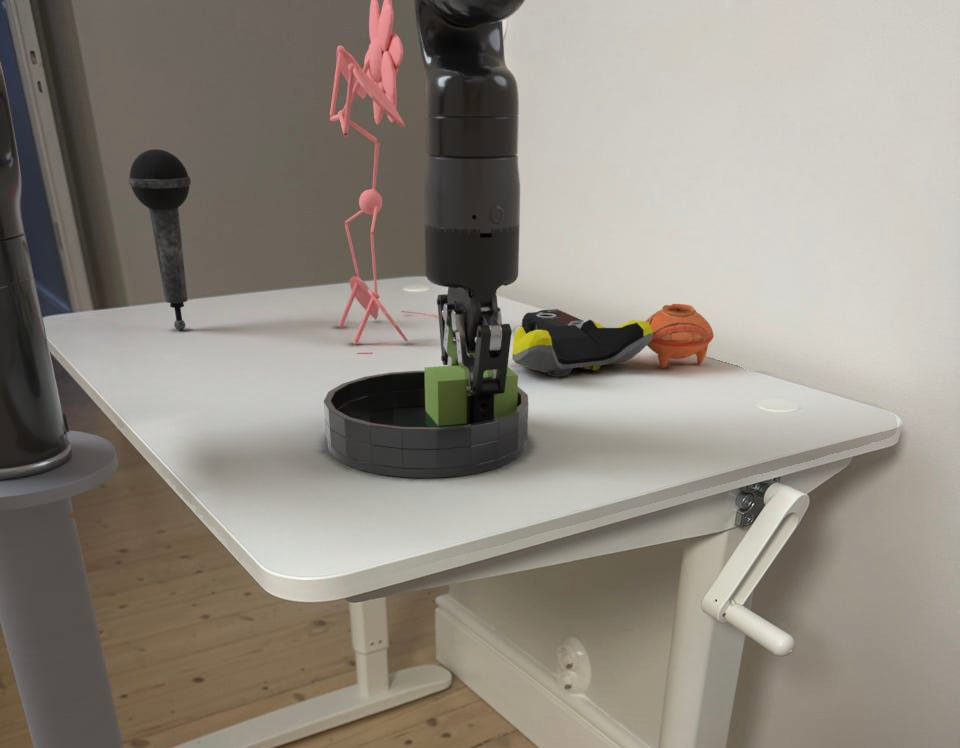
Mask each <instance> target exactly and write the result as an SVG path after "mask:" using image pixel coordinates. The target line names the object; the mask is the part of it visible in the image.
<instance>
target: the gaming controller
mask: <svg viewBox="0 0 960 748" xmlns="http://www.w3.org/2000/svg"><path fill="white" fill-rule="evenodd" d="M583 321H584V322H582V326H581V328H578V327H577V326H576V325H569V326H558V327H548V328H540V329H539V330H534V331H529V329H528V328H525V327H522V325H520V326H517V327H516V329H515V332H514V335H513V340H512V361H513V362H514V363H516V364H518V365H519V366H521V367H525V368H528V369H530V370H533V371H538V372H542V373H547V375H548V376H552V377H566V376H569V375H570V374H571V372H572V371H573V369H576V368H581V369H583V370H591V371H599V369H600V368H601V366H610V365H611V366H612V365H617V364H621V363H624V362H628V361H630V360H631V359H633V358H634V357H636V356H637V355H638V354H640V353H641V352H642V351H643V350H644V349H645V348H646V347H648V346H647V345H648V344H649V343H650V342H651V341H652V340H653V335H652V329H651V326H650V324H649V322H645V321H646V320H637V319H636V320H635V319H634V320H633V319H632V320H630V321H628V322H625V323H623V324H621V325H619V326H617V327H604V326H602V325H601V324H600V322H596V321H595V320H592V319H587V320H583Z"/></svg>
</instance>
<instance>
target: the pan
mask: <svg viewBox="0 0 960 748" xmlns="http://www.w3.org/2000/svg"><path fill="white" fill-rule="evenodd" d="M323 411H324V412H323V413H324V427H325V428H324V429H325V438H326V439H327V448H328V451H329V453H330V454H331V456H332V457H333V458H335V459H336V460H337V461H339V462H340V463H343V464H344V465H346V466H349V467H351V468H354V469H357V470H360V471H363V472H368V473H371V474H376V475H382V476H389V477H397V478H411V479H436V478H437V479H439V478H440V479H441V478H451V477H454V478H455V477H460V476H468V475H469V476H470V475H474V474H480V473H484V472H489V471H492V470H494V469H498V468H501V467H503V466H507V465H509V464H511V463H512V462H514V461H515V460H517V459H518V458H520V457H521V456H522V455H523V453H524V452H526V451H525V450H526V448H527V441H528V430H529V429H528V427H529V426H528V424H529V395H528V393H526V392H525V391H524V390H522V388H521V387H519V386H518V395H517V408H516V409H515V410H514V411H513V412H511V413H509V414H506V415H504V416H501V417H499V418H496V419H494V420H489V421H484V422H479V423H474V424H469V425H460V426H448V427H428V426H427V425H426V411H425V370H409V371H408V370H406V371H393V372H386V373H377V374H373V375H366V376H363V377H359V378H356V379H352V380H349V381H346V382H343V383H341V384H339V385H338V386H336V387H334V388H332V389H331V390H329V391H328V392H327V394H326V395H325V398H324V399H323Z"/></svg>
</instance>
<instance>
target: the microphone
mask: <svg viewBox="0 0 960 748" xmlns="http://www.w3.org/2000/svg"><path fill="white" fill-rule="evenodd" d="M191 181H192V180H191V177H190V176H189V173H188V171H187V168H186V167H185V165H184V164H183V162H182V161H181V160H180V159H179V158H178V157H176V155H175V154H172V153H171V152H169V151H167V150H163V149H157V148H156V149H155V148H154V149H149V150H145V151H143V152H141V153H140V154H139V155H137V157H136V158H135V159H134V161H133V163H132V164H131V166H130V170H129V177H128V184H129V186H130V187H131V190H132V192H133V194H134V196H135V197H136V199H137V200H138V201H139V202H140V203H141V204H142V205H143V206H145V207H146V208H148V210H149V216H150V223H151V228H152V233H153V239H154V243H155V249H156V256H157V261H158V267H159V273H160V278H161V284H162V289H163V295H164V301H165V302H166V303H167V304H169V307H170V308H172V309H173V308H174V314H175V320H174V323H173V325H174V328H175V329H176V330H178V331H183V330H184V329H185V328H186V322H185V321H184V320H183V315H182V308H183V307H185V303H186V302H188V292H187V291H188V290H187V282H186V273H185V272H186V271H185V262H184V251H183V243H182V233H181V231H182V230H181V223H180V213H179V208H180V207H181V206H182V205H183V204H184V202H186V199H187V197H188V195H189V192H190V186H191V183H192V182H191Z"/></svg>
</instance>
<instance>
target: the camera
mask: <svg viewBox="0 0 960 748" xmlns="http://www.w3.org/2000/svg"><path fill="white" fill-rule="evenodd" d="M584 321H585V320H583V319H581V318H578V317H576V316H573V315H571V314H569V313H567V312H565V311H562V310H561V309H558V308H557V309H556V308H555V309H540V310H538V311H532V312H527V313H525V314H524V316H523V317H522V319H521V326H522V327H525V328H528V329H529V331H530V332H531V331H534V330H539V329H540V328H548V327H558V326H569V325H576V326H577V327H578V328H581V326H582V322H584Z"/></svg>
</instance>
